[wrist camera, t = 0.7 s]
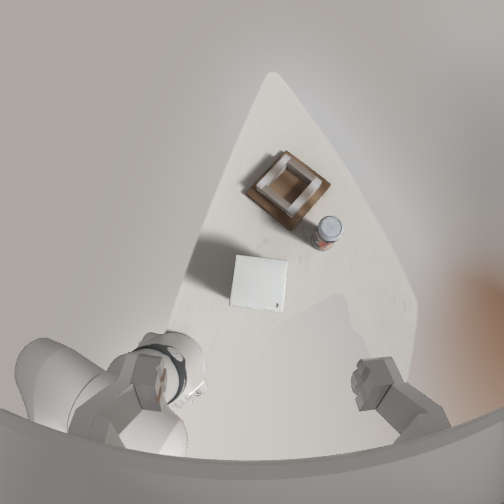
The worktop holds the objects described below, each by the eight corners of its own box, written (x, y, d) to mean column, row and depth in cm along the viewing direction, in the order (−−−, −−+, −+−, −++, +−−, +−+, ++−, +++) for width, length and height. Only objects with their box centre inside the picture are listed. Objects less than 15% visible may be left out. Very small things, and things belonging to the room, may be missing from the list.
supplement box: (287, 269, 64) (289, 259, 49) (282, 310, 63) (283, 313, 48) (245, 264, 65) (235, 253, 50) (239, 305, 64) (228, 306, 49)
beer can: (308, 233, 65) (315, 218, 53) (329, 227, 65) (339, 211, 53) (315, 254, 64) (323, 243, 52) (335, 247, 64) (348, 236, 52)
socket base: (290, 231, 65) (291, 226, 61) (246, 194, 68) (244, 187, 63) (329, 186, 66) (333, 179, 62) (286, 153, 69) (286, 144, 64)
